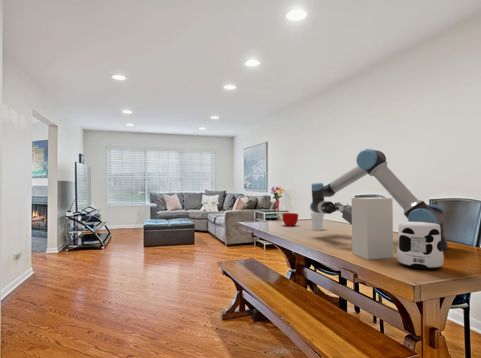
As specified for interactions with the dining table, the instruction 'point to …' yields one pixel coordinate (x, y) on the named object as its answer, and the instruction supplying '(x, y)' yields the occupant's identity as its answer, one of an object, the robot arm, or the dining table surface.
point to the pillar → (372, 227)
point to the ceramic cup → (290, 219)
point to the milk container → (420, 245)
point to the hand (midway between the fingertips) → (348, 208)
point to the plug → (345, 213)
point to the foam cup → (317, 220)
